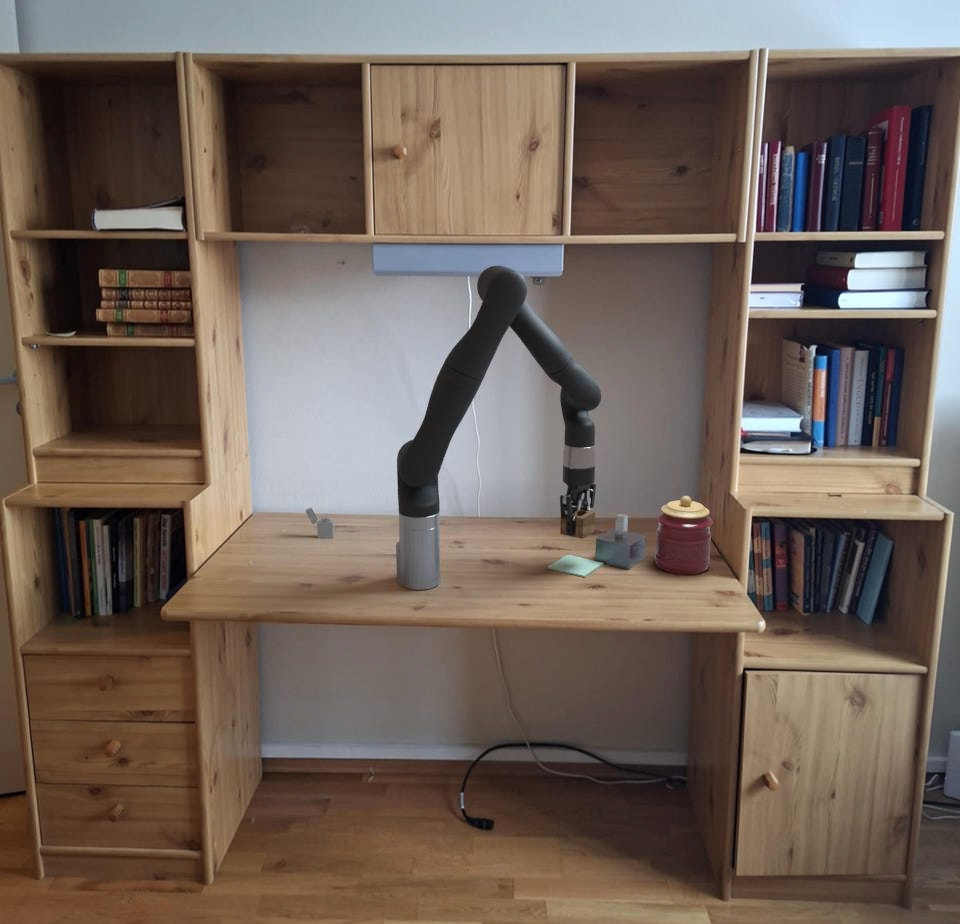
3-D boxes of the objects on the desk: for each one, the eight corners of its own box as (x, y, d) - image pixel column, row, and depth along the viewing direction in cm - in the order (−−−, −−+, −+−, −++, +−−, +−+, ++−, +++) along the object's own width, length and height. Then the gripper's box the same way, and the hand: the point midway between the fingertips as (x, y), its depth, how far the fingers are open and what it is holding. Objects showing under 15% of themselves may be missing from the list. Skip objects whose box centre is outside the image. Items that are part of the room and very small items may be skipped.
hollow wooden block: (560, 534, 209) (560, 514, 207) (572, 527, 213) (572, 507, 212) (582, 538, 205) (583, 518, 204) (594, 531, 210) (595, 511, 209)
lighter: (334, 536, 233) (333, 507, 230) (333, 538, 231) (331, 509, 229) (308, 535, 233) (306, 506, 231) (306, 537, 231) (305, 508, 229)
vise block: (595, 561, 215) (596, 517, 212) (611, 550, 222) (613, 507, 219) (629, 569, 210) (631, 523, 207) (644, 558, 217) (646, 514, 214)
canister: (698, 579, 204) (703, 507, 199) (646, 568, 210) (649, 498, 206) (716, 562, 214) (721, 493, 210) (665, 552, 221) (669, 485, 217)
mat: (547, 568, 210) (547, 567, 210) (567, 556, 218) (567, 554, 218) (584, 577, 205) (584, 575, 205) (603, 564, 213) (603, 562, 213)
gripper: (579, 454, 213) (577, 520, 217) (549, 467, 201) (548, 536, 206) (607, 458, 209) (604, 525, 213) (578, 472, 197) (577, 542, 201)
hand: (577, 530), depth 209 cm, fingers closed on hollow wooden block, 6 cm apart
